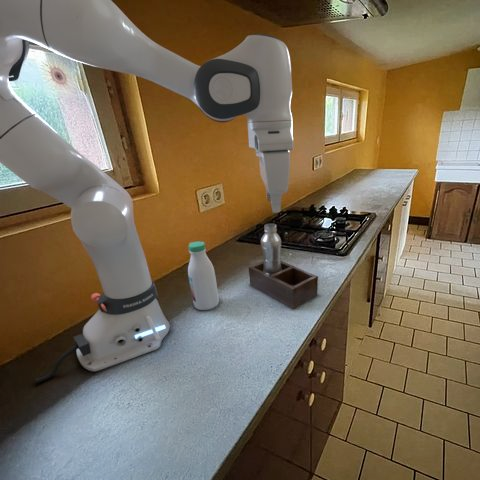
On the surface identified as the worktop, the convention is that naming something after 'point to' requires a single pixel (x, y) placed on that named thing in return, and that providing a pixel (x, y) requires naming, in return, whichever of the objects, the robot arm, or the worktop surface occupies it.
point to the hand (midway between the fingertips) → (273, 205)
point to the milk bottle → (202, 278)
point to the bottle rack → (285, 284)
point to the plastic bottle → (271, 249)
